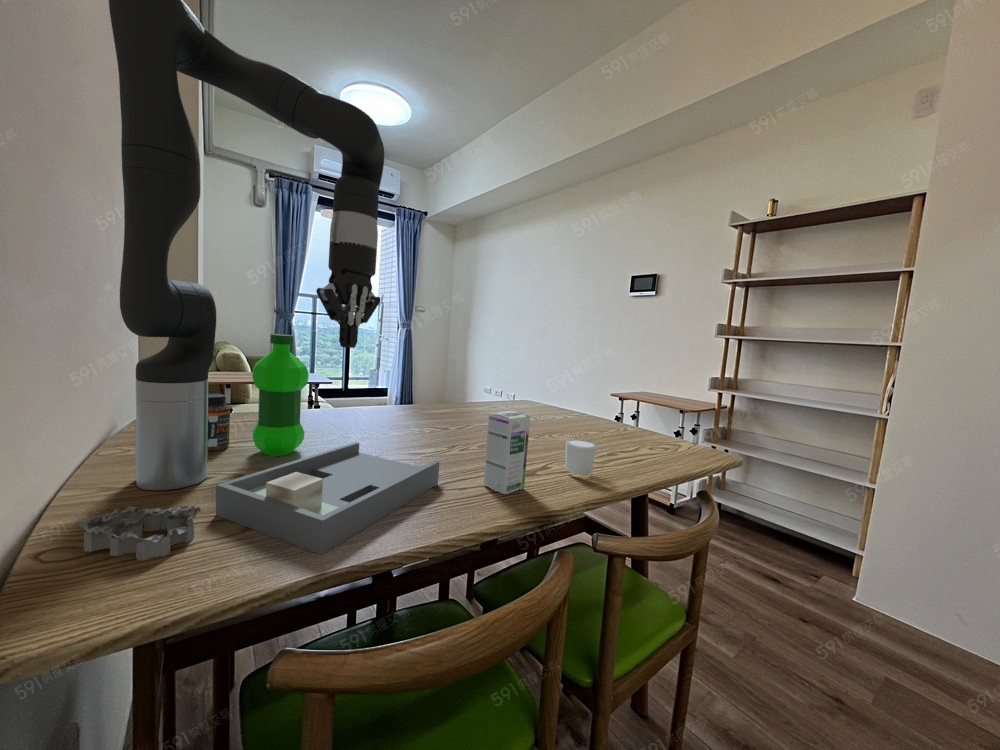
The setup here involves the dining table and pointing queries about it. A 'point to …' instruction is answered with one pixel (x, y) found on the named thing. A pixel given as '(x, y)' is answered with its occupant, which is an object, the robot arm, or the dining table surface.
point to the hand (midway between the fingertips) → (347, 347)
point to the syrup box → (506, 451)
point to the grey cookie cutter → (139, 530)
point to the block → (297, 490)
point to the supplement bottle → (218, 422)
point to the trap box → (326, 496)
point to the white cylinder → (579, 456)
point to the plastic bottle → (279, 398)
